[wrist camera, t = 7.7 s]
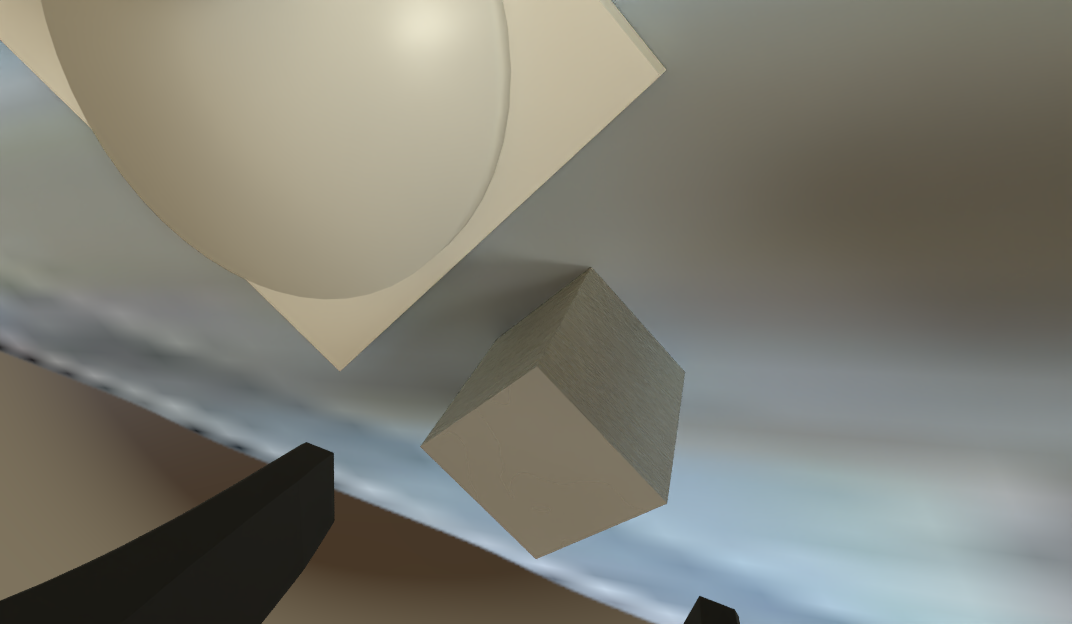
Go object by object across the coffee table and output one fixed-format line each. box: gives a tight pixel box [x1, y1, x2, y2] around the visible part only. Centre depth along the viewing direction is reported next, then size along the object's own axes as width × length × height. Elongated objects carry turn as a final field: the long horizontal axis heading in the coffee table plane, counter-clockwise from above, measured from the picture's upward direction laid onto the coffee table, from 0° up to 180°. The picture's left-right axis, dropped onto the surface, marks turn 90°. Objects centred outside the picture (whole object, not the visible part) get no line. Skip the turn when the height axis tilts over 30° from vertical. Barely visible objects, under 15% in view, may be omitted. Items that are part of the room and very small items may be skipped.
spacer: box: [420, 267, 685, 559], centre depth 14 cm, size 4×4×5 cm
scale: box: [0, 0, 666, 371], centre depth 14 cm, size 15×13×2 cm
